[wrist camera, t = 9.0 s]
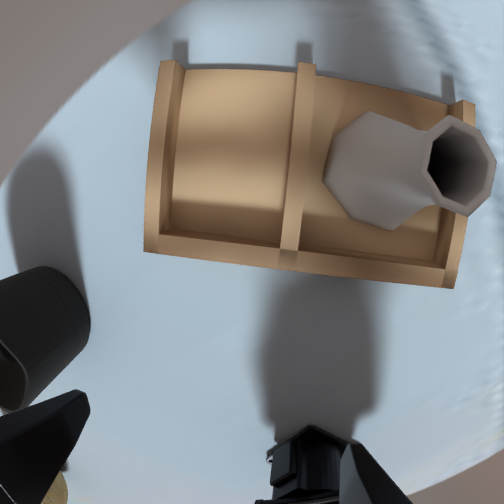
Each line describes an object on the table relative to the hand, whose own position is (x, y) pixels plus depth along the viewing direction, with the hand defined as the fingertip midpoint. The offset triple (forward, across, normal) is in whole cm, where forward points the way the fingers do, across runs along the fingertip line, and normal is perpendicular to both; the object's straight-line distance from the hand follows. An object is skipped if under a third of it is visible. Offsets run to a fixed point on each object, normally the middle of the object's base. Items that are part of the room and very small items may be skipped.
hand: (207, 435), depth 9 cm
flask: (+13, -7, -9) cm, 17 cm away
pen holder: (+13, +18, +5) cm, 23 cm away
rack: (+13, -3, -9) cm, 16 cm away
